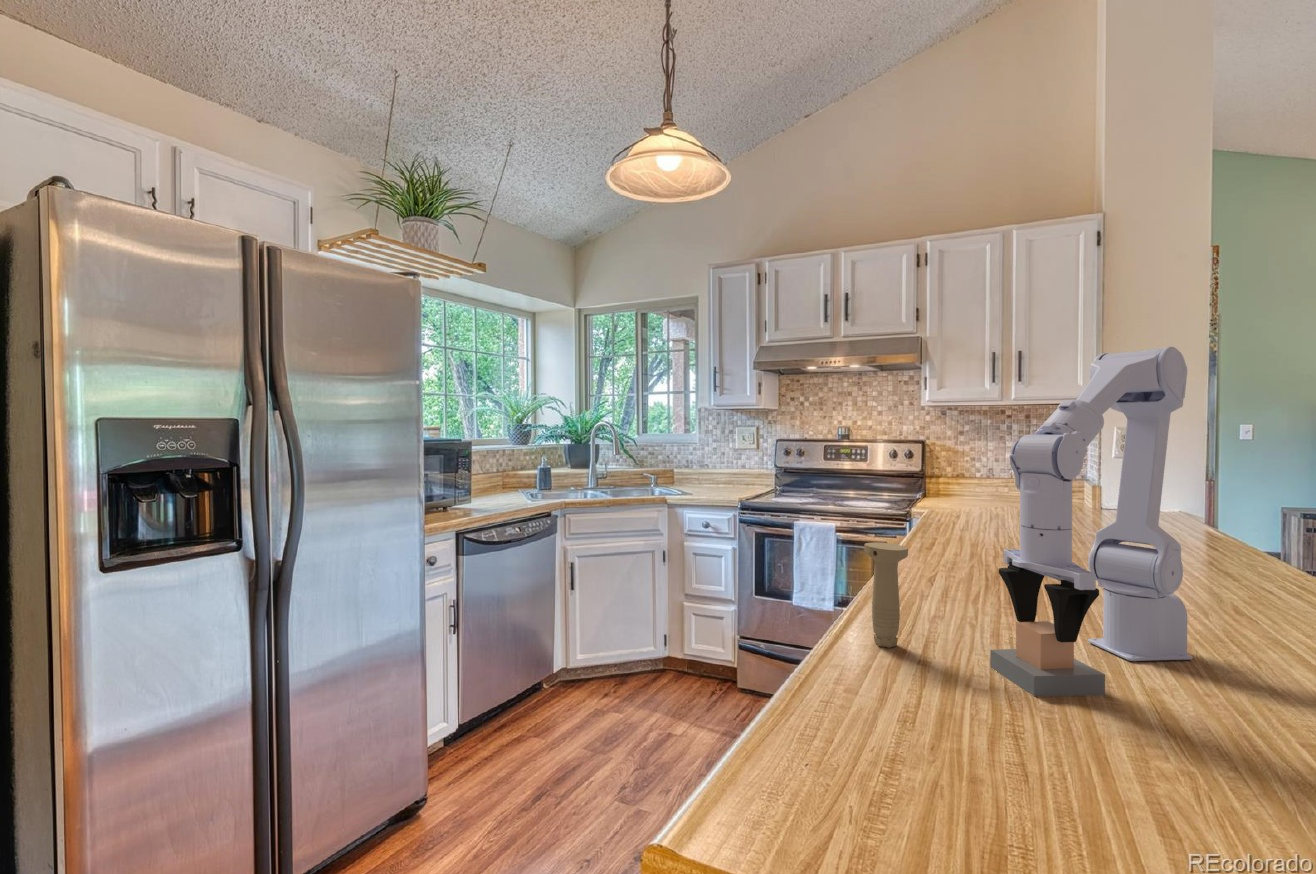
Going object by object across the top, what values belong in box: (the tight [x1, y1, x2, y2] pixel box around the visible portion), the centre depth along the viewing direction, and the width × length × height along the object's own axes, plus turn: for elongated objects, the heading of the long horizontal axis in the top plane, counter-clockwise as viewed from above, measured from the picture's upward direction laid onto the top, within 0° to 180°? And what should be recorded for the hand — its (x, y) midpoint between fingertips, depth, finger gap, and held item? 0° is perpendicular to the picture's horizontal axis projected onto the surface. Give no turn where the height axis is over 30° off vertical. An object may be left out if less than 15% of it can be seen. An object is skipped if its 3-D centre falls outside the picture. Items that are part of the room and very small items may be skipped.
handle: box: [863, 541, 909, 649], centre depth 92 cm, size 5×6×15 cm
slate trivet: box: [989, 648, 1106, 698], centre depth 79 cm, size 9×9×3 cm
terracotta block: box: [1015, 620, 1075, 670], centre depth 79 cm, size 4×4×4 cm
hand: (1045, 631), depth 79 cm, fingers open, 7 cm apart
